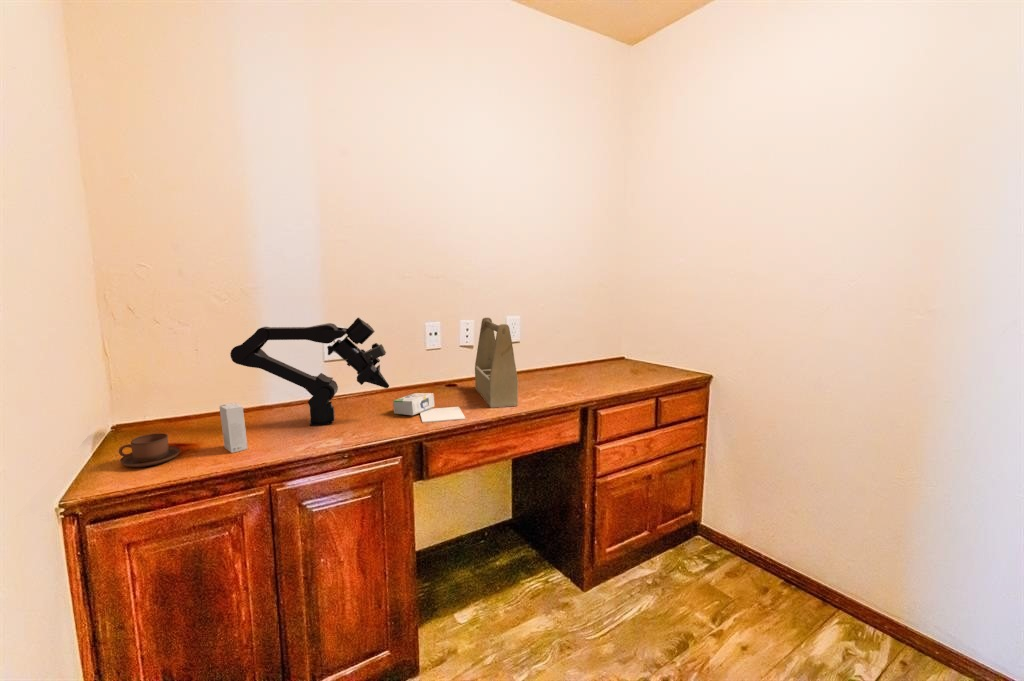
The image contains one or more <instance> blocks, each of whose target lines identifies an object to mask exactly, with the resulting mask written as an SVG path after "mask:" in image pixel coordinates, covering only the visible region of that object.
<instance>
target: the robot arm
mask: <svg viewBox="0 0 1024 681" xmlns="http://www.w3.org/2000/svg"><path fill="white" fill-rule="evenodd" d="M374 333H375V330H374V329H373V327H372V326H371V325H370V324H369V323H367V322H365V321H364V320H363V319H361V318H360V317H356V319H355V320H354V321H353V323H352V324H351V325H350V326H349V327H348V328H346V327H338V326H337V325H336V324H335V323H330V322H328V323H323V324H322V323H321V324H317V325H312V326H302V327H301V326H288V327H287V326H284V327H283V326H281V327H280V326H279V327H276V326H273V327H270V326H262V327H259V328H257V330H256V331H255V332H254V333H253V334H252V335H250V336H249V337H248V338H247V339H246V340H244V341H243V343H241V344H238V345H236V346H234V347H232V349H231V351H230V352H229V354H230V358H231V361H232V362H233V363H235V364H237V365H240V366H244V367H247V368H248V367H249V368H255V369H260V370H263V371H265V372H267V373H269V374H272V375H275V376H277V377H278V378H281V379H283V380H285V381H288V382H290V383H292V384H294V385H297V386H299V387H301V388H303V389H305V391H307V392H308V393H309V394H310V395H311V397H310V399H308V401H307V404H308V406H309V412H310V414H309V415H310V423H309V426H310V427H313V426H324V425H327V426H328V425H332V424H333V422H334V421H335V418H336V417H335V406H333V402H332V401H331V400H332V399H333V398H334V397H335V395H336V393H337V392H338V390H339V386H338V384H337V382H336V381H335V380H334V377H330V376H328V375H326V374H324V373H322V372H321V373H319V374H318V375H312V374H309V373H307V372H305V371H302V370H300V369H298V368H296V367H293V366H291V365H289V364H286V363H285V362H282V361H281V360H278V359H277V358H276V359H275V358H274V357H271V356H269V355H268V354H267V353H266V352H265V351H264V350H263V349H262V348H263V347H264V346H265V344H266V343H267V342H268V341H292V340H293V341H295V340H297V341H300V340H301V341H303V340H306V341H310V342H314V343H319V344H320V343H321V344H325V345H327V344H331V343H333V344H332V345H328V346H327V347H326V348H327V355H328V356H331V355H332V353H334V352H335V353H336V354H337V355H338V356H339V357H340V358H341V359H342V360H344V361H345V362H346V365H347V366H348V367H352V368H353V369H354V371H356V374H357V376H356V382H358V383H359V385H360V386H362V385H363V384H364V383H368V384H371V385H375V386H378V387H381V388H384V389H388V388H390V384H389V383H388V382H387V380H386V379H385V377H384V375H383V374H382V373H381V364H380V362H381V359H379V358H380V357H381V358H382V357H383V356H384V357H385V355H386V353H387V351H386V349H385V347H384V346H383V344H379V343H377V342H374V343H373V344H371V348H370V349H368V350H365V349H362V348H361V349H360V348H359V347H358V346H357V345H358V344H360V345H363V344H364V343H365V342H366V341H367V340H369V338H370V337H371V336H372V335H374ZM345 335H346V336H345ZM344 336H345V337H344ZM343 337H344V339H340V338H343ZM335 340H336V341H335ZM334 341H335V342H334ZM377 364H378V365H377ZM376 365H377V366H376Z"/></svg>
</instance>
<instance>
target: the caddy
mask: <svg viewBox="0 0 1024 681" xmlns="http://www.w3.org/2000/svg"><path fill="white" fill-rule="evenodd" d="M495 334H496V335H495ZM475 356H476V357H475V363H474V380H475V382H474V383H475V390H476V392H477V393H478V394H479V395H480V396H481V397H482V399H483V400H484V401H485V403H486V404H487V405H488V406H489V408H491V409H495V408H505V407H507V408H508V407H517V406H518V404H519V403H518V402H519V399H518V397H519V392H518V391H519V390H518V389H519V386H518V385H519V383H518V382H519V379H518V373H517V372H518V371H517V367H516V360H515V354H514V347H513V342H512V335H511V330H510V326H509V324H506V323H500V324H499V325H498V324H496V323H494V322H493V321H492V319H491V318H490V317H483V318H482V320H481V323H480V330H479V336H478V343H477V349H476V355H475Z"/></svg>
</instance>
